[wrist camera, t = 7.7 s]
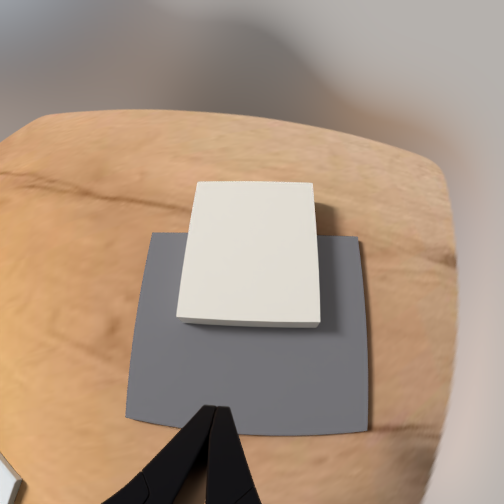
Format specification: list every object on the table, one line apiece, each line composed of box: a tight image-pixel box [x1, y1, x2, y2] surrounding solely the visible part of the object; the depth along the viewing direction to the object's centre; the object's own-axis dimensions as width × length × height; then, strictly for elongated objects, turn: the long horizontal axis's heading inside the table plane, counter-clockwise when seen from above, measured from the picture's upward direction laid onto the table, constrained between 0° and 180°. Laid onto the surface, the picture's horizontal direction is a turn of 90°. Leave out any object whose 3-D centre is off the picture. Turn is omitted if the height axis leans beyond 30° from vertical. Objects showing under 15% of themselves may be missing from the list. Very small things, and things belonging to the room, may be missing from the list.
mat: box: [125, 233, 368, 436], centre depth 22 cm, size 16×18×1 cm
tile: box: [176, 181, 320, 328], centre depth 24 cm, size 2×10×12 cm
